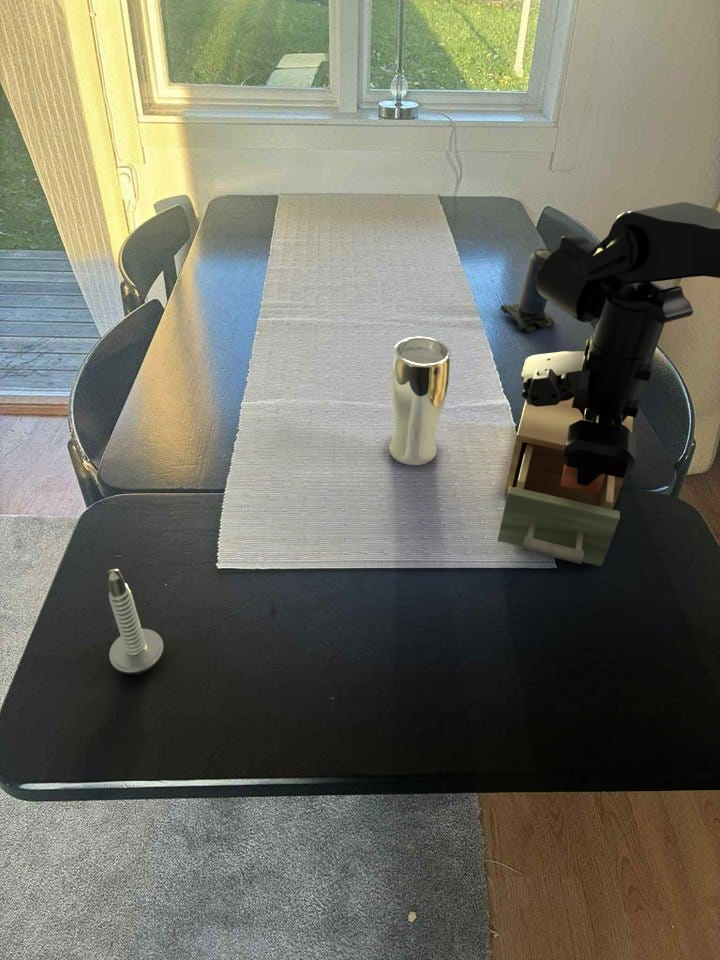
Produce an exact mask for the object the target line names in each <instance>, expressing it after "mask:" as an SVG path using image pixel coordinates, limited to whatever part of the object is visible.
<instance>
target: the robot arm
mask: <svg viewBox="0 0 720 960" xmlns="http://www.w3.org/2000/svg"><path fill="white" fill-rule="evenodd" d="M697 277H709V278H716V279H717V278H718V279H720V211H718V210H717V209H715V208H710V207H706V206H703V205H699V204H695V203H691V202H687V201H679V202H674V203H669V204H668V203H667V204H664V205H657V206H652V207H647V208H642V209H637V210H631V211H626V212H622V213H621V214H619V215H617V217H616V220H615V221H614V222H613V224H612V225H611V228H610V229H609V233H608V234H607V236H606V237H604V239H603V240H601V241H600V242H599V243H598V244H597V245H596V244H594V243H592V242H591V241H590V240H589V239H588V238H587V237H586V236H584V235H582V234H580V233H574V234H569V235H565V236H562V237H561V238H560V243H559V247H558V248H557V249H555V250H554V251H553V253H552V254H551V255H550V256H549V257H548V258H547V260H546V261H545V263H544V264H543V266H542V268H541V270H539V271H538V274H537V280H536V286H537V290H538V292H539V294H540V295H541V296H542V297H544V298H545V299H547V302H549V303H551V304H552V305H554V306H555V307H557V308H559V309H560V310H562V312H563V311H564V312H565V313H566V314H568V315H570V316H571V317H572V318H574V319H576V320H577V321H579V322H581V323H590V322H593V321H595V320H596V322H595V323H596V324H595V326H594V331H593V335H591V337H590V339H587V340H586V342H585V347H584V349H583V350H581V351H570V350H563V351H557V352H549V353H539V354H533V355H531V356H529V357H527V358H526V359H525V361H524V365H523V367H522V372H521V375H520V376H521V381H522V386H523V387H522V392H521V397H522V398H523V399H525V402H527V403H528V404H529V405H533V406H535V407H540V406H551V405H557V404H558V403H559V402H560V401H567V400H570V399H572V398H573V399H572V400H573V402H572V408H576V409H579V411H580V412H581V414H582V416H583V420H579V421H577V422H575V423H573V424H571V425H569V427H568V429H567V434H566V439H565V443H564V448H563V454H562V460H561V461H562V462H563V463H564V464H565V465H566V466H569V467H573V468H577V484H579V485H584V486H588V485H589V484H590V483H591V482H593V481H594V480H595V479H596V478H597V477H599V476H600V475H601V474H606V475H610V476H615V477H619V478H624V479H626V478H628V477H630V476H631V474H632V471H633V468H634V466H635V463H636V460H637V459H636V458H637V438H636V436H635V435H634V434H633V431H632V432H631V431H630V430H629V429H628V428H627V427H626V426H624V425H623V424H622V423H623V421H624V420H625V419H626V418H627V416H630V417H633V418H637V415H638V412H639V411H640V395H641V393H642V390H643V388H644V384H645V382H649V381H650V378H651V375H652V373H653V358H654V355H655V353H656V351H657V350H656V349H657V347H658V344H659V341H660V339H661V336H662V332H663V330H664V327H665V324H666V323H670V322H673V321H677V320H680V319H684V318H688V317H692V316H693V314H694V309H693V307H692V305H691V302H690V301H689V300H688V298H686V296H685V294H684V292H683V287H682V286H681V285H676V286H671V287H667V288H666V287H664V286H662V285H661V284H658V283H657V282H662V281H663V282H664V281H671V280H678V279H687V278H697Z"/></svg>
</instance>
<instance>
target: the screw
mask: <svg viewBox="0 0 720 960" xmlns="http://www.w3.org/2000/svg"><path fill="white" fill-rule="evenodd" d="M107 572H108V589H109V592H108V598H109V599H108V601H109V604H110V607H111V610H112V612H113V616H114V619H115V622H116V625H117V629H118V632H119V635H120V636H118V637H117V638H116V639H115V640H114V642H113V643H112V644H111V647H110V649H109V653H108V657H109V661H110V664H111V666H112V667H113V668H114V670H115V671H117V672H119V673H121V674H124V675H135V676H139V675H141V674H144V673H147V672H148V671H151V670H152V668H154V667H155V666H156V665H157V664H158V663H159V661H160V660H161V659H162V657H163V654H164V652H165V651H164V650H165V646H164V641H163V638H162V637H161V636H160V634H158V633H157V632H156V631H155V630H152V629H149V628H142V625H141V622H140V619H139V618H140V617H139V615H138V614H139V613H138V612H137V608H136V604H135V600H134V598H133V594H132V591H131V589H130V587H129V585H128V584H127V583H126V582H125V579H124V576H123V575H122V573H121V572H120V570H119V569H118V568H112V569H110V570H108V571H107Z"/></svg>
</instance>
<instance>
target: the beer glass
mask: <svg viewBox="0 0 720 960" xmlns="http://www.w3.org/2000/svg"><path fill="white" fill-rule="evenodd" d="M451 353H452V352H451V349H450V348H449V347H448V345H447V344H446V343H444V342H442V341H440V340H438V339H436V338H431V337H425V336H413V337H408V338H405V339H403V340H401V341H399V342H397V344H396V345H395V346H394V353H393V361H392V366H391V374H390V399H391V408H392V415H393V435H392V437H391V440H390V443H389V452H390V455H391V457H392V458H393V459H394V460H395V461H397V462H398V463H401V464H404V465H407V466H422V465H425V464H428V463H430V462H431V461H433V460H434V458H435V457H436V454H437V443H436V431H437V426H438V423H439V420H440V417H441V415H442V411H443V409H444V407H445V402H446V398H447V395H448V389H449V385H450V384H449V381H450V372H451V371H450V369H451Z"/></svg>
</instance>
